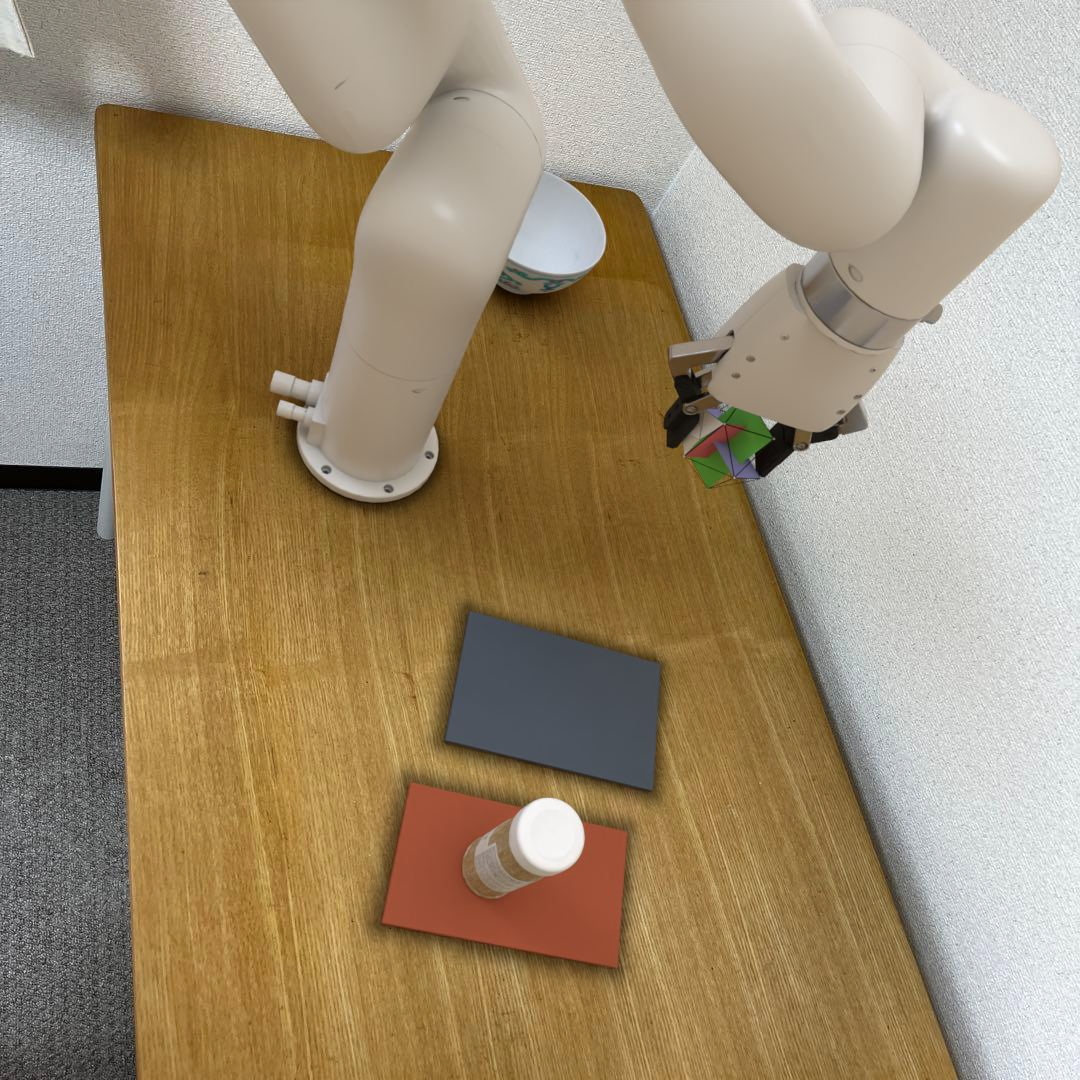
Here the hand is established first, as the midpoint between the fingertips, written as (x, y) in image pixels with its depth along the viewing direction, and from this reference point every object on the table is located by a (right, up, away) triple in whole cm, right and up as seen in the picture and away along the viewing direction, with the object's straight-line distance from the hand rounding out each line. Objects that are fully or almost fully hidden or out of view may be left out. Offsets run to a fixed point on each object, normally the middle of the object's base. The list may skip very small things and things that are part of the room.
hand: (715, 446), depth 70 cm
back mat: (-12, -21, +6) cm, 25 cm away
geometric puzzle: (0, -1, +2) cm, 2 cm away
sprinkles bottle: (-18, -32, -3) cm, 36 cm away
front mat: (-16, -32, -2) cm, 36 cm away
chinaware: (-17, +22, +28) cm, 40 cm away
